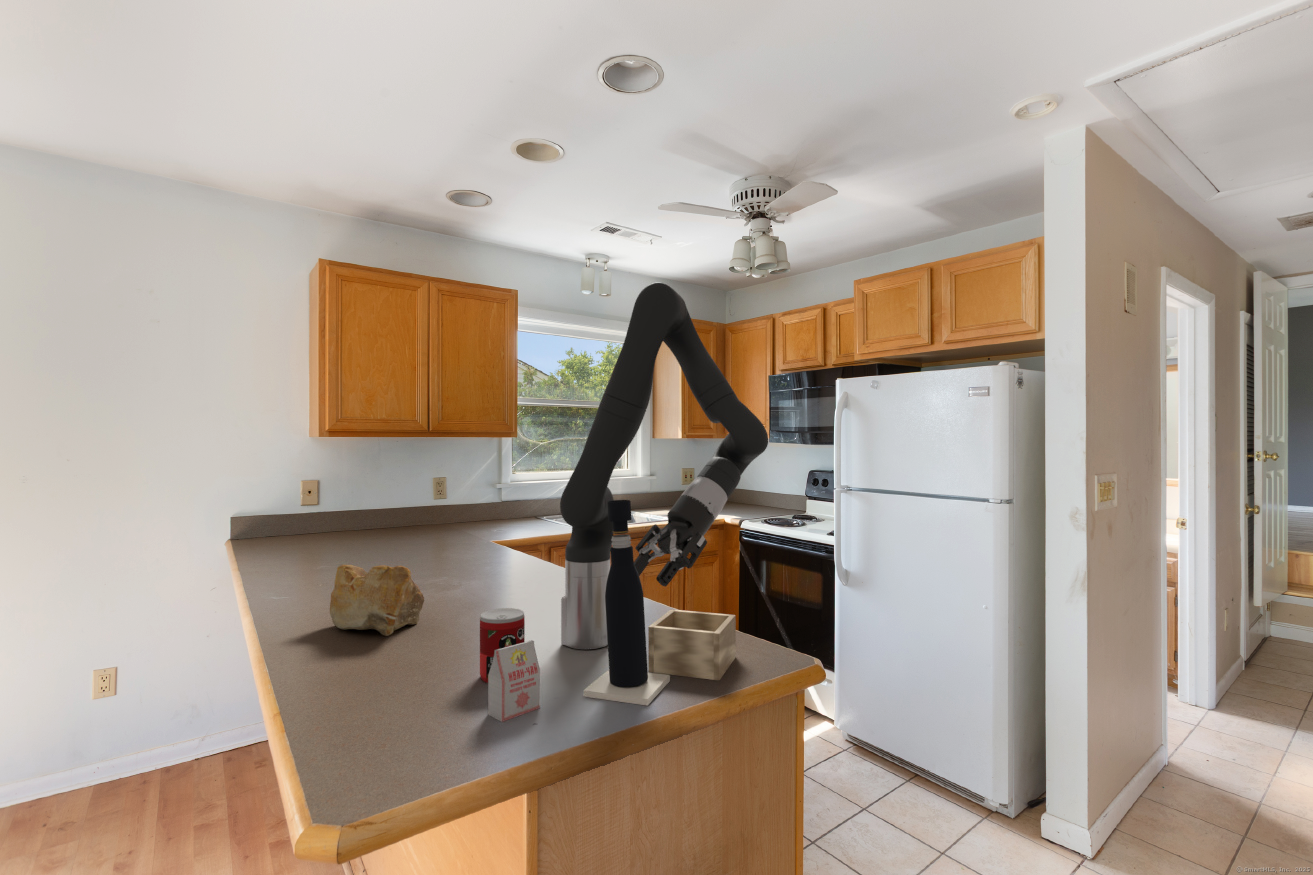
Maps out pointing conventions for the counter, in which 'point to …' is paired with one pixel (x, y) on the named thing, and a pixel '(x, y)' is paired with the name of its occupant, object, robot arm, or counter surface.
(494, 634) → the canned food
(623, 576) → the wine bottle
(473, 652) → the counter surface
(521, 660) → the white paper bag
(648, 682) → the cream tile
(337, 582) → the rough brown rock
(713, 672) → the pine crate
